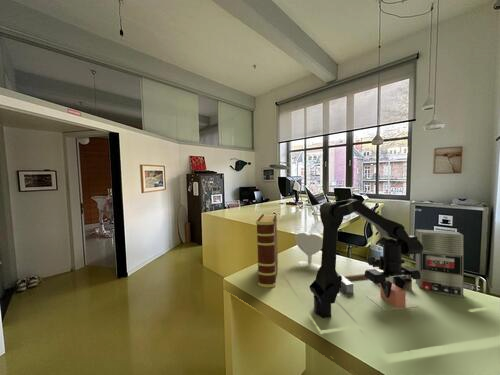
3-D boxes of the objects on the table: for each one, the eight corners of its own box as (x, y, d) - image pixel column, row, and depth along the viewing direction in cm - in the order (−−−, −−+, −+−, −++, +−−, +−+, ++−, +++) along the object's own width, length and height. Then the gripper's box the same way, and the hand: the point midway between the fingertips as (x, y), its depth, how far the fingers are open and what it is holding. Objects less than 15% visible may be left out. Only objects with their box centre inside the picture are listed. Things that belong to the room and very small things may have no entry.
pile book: (418, 312, 73) (418, 306, 73) (385, 316, 71) (385, 310, 71) (396, 298, 82) (396, 292, 82) (367, 301, 80) (367, 296, 80)
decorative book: (275, 288, 91) (273, 221, 90) (257, 287, 92) (255, 221, 91) (278, 267, 113) (276, 213, 112) (263, 266, 114) (262, 213, 113)
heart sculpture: (295, 263, 118) (294, 232, 117) (298, 260, 122) (297, 230, 121) (322, 269, 108) (322, 235, 108) (325, 265, 113) (324, 233, 112)
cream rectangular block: (393, 288, 86) (393, 276, 86) (384, 289, 85) (384, 276, 85) (380, 280, 93) (380, 268, 93) (372, 281, 92) (372, 269, 92)
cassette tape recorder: (419, 292, 84) (419, 232, 83) (415, 285, 90) (414, 229, 89) (465, 300, 78) (465, 235, 77) (457, 292, 84) (457, 231, 83)
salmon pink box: (405, 305, 73) (405, 291, 73) (395, 307, 73) (395, 292, 72) (389, 295, 80) (389, 281, 80) (380, 296, 80) (380, 282, 79)
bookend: (353, 294, 82) (353, 283, 82) (337, 296, 81) (337, 285, 81) (340, 283, 91) (340, 273, 91) (325, 285, 90) (325, 275, 90)
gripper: (395, 246, 85) (396, 283, 86) (354, 250, 83) (355, 288, 83) (421, 256, 74) (422, 298, 75) (375, 260, 71) (376, 304, 72)
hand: (392, 296), depth 76 cm, fingers closed on salmon pink box, 4 cm apart
